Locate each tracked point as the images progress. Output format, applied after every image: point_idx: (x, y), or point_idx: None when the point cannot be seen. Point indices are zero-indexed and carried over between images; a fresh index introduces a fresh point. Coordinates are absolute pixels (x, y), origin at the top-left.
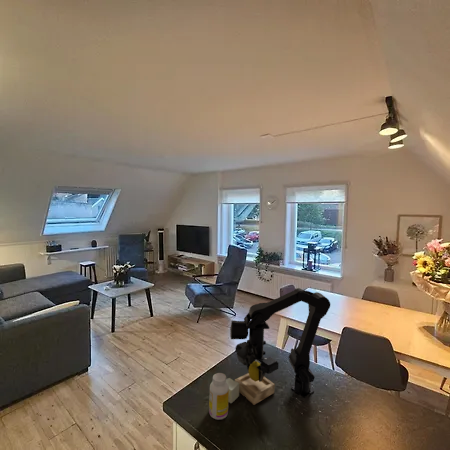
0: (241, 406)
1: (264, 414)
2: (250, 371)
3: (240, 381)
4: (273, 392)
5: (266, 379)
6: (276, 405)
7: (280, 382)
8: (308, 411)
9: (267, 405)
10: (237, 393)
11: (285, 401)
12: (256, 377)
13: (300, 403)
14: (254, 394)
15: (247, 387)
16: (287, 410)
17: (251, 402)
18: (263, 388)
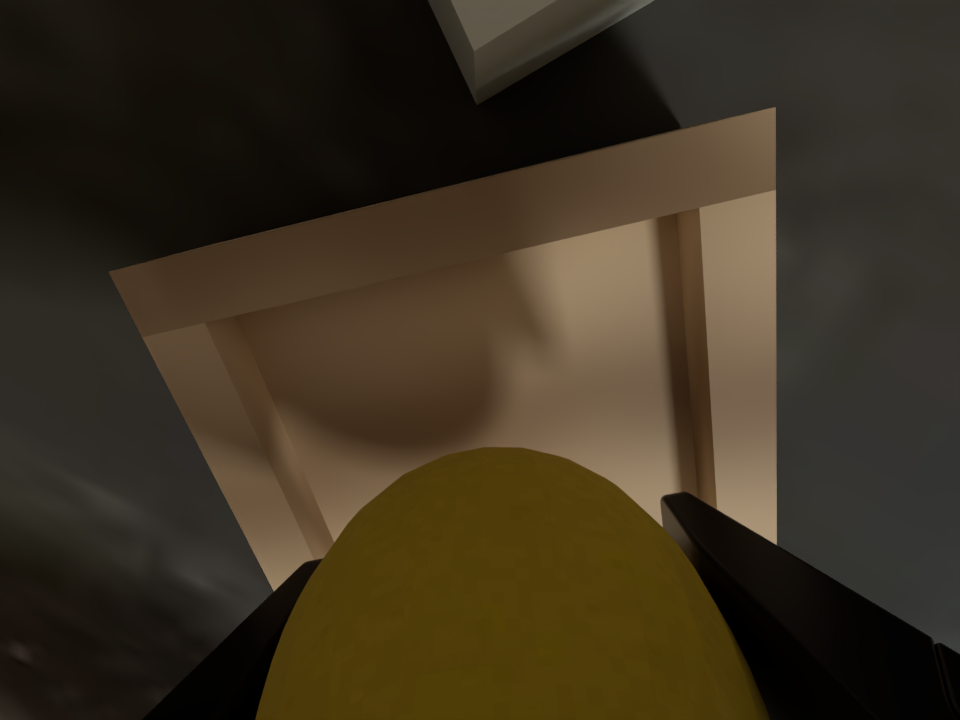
0: (228, 16)
1: (20, 292)
2: (456, 595)
3: (639, 210)
4: None
5: None
6: (159, 504)
7: None
8: (38, 704)
9: (177, 412)
10: (447, 32)
11: (203, 612)
12: (306, 586)
13: (150, 704)
14: (147, 295)
15: (388, 263)
16: (67, 562)
17: (264, 231)
18: (279, 522)
